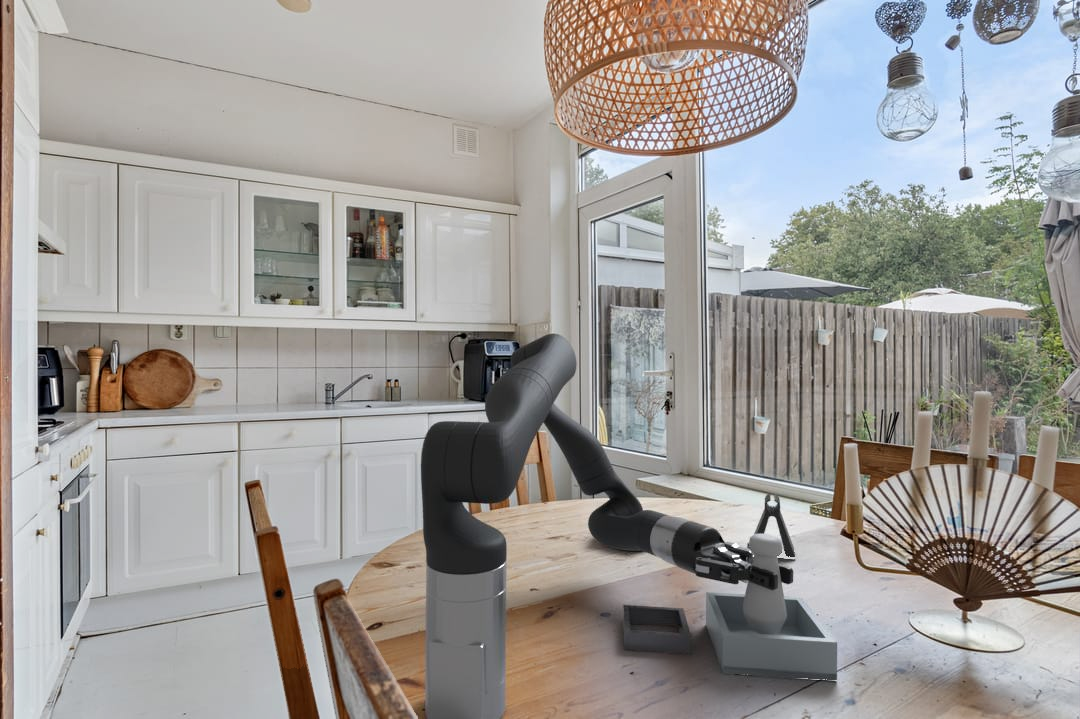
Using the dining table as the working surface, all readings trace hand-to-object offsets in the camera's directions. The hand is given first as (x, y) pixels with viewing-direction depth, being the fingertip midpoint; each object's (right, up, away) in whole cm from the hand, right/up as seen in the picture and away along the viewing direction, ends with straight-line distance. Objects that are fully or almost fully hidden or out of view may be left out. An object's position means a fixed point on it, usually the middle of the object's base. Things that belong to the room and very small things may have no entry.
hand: (783, 579), depth 79 cm
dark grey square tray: (-16, -11, +6) cm, 20 cm away
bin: (-2, -11, +2) cm, 11 cm away
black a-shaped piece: (+16, -11, +43) cm, 47 cm away
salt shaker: (-2, -8, +2) cm, 8 cm away
